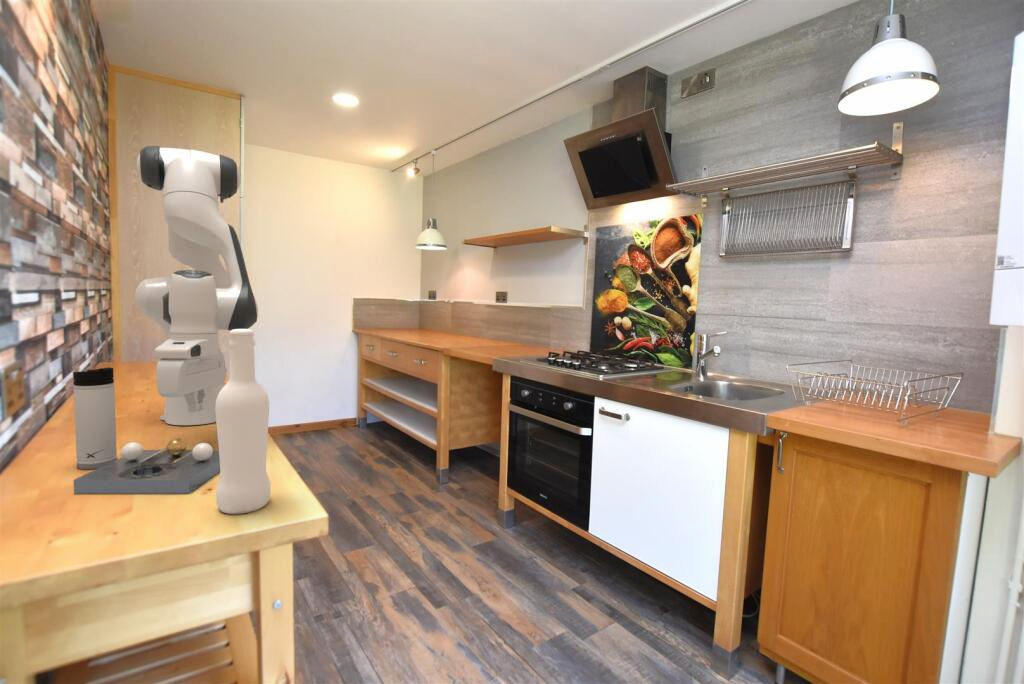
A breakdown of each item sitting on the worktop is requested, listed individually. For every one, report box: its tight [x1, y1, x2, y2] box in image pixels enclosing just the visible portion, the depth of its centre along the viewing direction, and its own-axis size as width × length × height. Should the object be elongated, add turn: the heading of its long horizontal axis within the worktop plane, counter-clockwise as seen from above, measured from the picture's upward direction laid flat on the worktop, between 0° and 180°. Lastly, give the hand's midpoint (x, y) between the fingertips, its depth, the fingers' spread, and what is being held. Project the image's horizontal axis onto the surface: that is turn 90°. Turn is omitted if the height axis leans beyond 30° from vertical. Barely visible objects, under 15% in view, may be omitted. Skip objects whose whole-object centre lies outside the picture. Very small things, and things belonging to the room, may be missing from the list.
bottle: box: [215, 328, 272, 515], centre depth 83 cm, size 8×8×30 cm
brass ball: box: [165, 437, 188, 456], centre depth 100 cm, size 4×4×4 cm
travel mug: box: [72, 366, 118, 471], centre depth 100 cm, size 6×7×20 cm
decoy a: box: [192, 442, 214, 461], centre depth 98 cm, size 4×4×4 cm
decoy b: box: [120, 441, 144, 461], centre depth 96 cm, size 4×4×4 cm
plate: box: [73, 447, 220, 495], centre depth 95 cm, size 17×19×3 cm
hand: (196, 410), depth 106 cm, fingers closed
